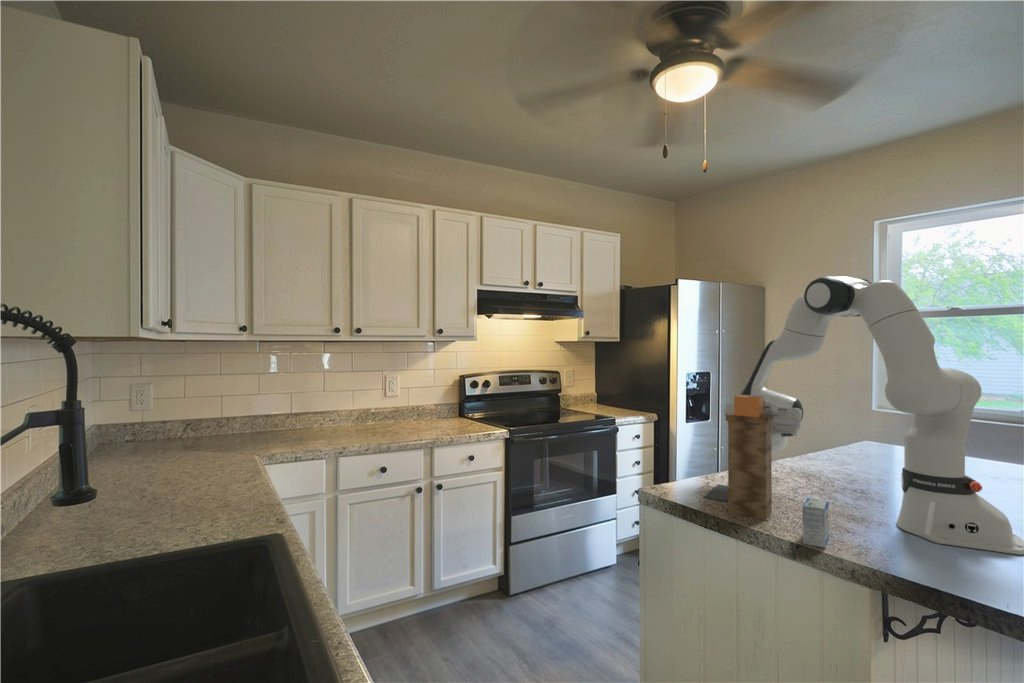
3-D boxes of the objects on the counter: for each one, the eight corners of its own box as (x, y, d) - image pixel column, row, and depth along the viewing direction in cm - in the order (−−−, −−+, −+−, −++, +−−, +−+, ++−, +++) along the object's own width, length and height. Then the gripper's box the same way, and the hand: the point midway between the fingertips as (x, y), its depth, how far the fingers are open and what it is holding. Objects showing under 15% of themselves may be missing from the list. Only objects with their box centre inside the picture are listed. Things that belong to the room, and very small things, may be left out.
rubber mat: (749, 490, 150) (749, 489, 150) (736, 503, 137) (736, 502, 137) (718, 485, 156) (718, 484, 156) (703, 497, 143) (703, 496, 143)
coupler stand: (774, 511, 131) (773, 414, 131) (767, 521, 124) (767, 418, 124) (733, 504, 137) (733, 411, 137) (725, 513, 130) (725, 415, 130)
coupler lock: (771, 410, 139) (771, 393, 139) (759, 417, 125) (759, 398, 126) (748, 408, 143) (748, 391, 143) (734, 415, 129) (734, 396, 129)
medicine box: (825, 549, 107) (825, 509, 107) (802, 544, 110) (802, 505, 110) (829, 538, 113) (828, 500, 113) (806, 533, 116) (806, 496, 116)
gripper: (730, 410, 156) (720, 391, 146) (804, 416, 143) (799, 396, 134) (727, 429, 153) (717, 411, 144) (803, 436, 141) (797, 417, 131)
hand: (757, 403), depth 139 cm, fingers open, 4 cm apart
